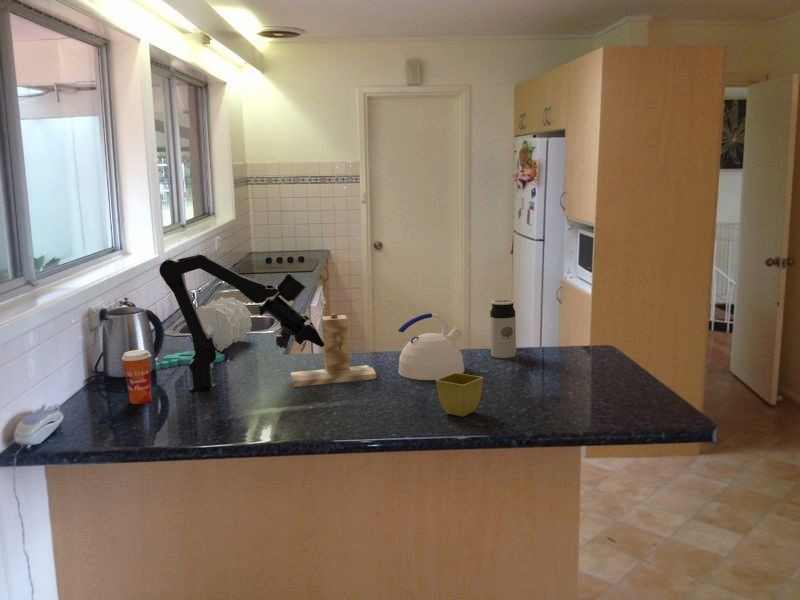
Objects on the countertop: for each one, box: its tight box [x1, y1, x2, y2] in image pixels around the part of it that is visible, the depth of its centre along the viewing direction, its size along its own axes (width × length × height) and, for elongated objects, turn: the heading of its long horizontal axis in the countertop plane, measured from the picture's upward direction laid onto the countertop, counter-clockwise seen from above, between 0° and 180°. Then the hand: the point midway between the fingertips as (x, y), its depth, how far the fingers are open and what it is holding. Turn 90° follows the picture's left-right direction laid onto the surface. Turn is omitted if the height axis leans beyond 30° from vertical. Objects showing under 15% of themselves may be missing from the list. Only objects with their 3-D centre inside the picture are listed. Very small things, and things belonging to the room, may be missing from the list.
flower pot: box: [435, 373, 484, 417], centre depth 185 cm, size 9×9×9 cm
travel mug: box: [489, 298, 517, 359], centre depth 238 cm, size 8×8×18 cm
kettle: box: [397, 312, 465, 381], centre depth 224 cm, size 20×21×18 cm
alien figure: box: [155, 349, 226, 371], centre depth 249 cm, size 20×2×20 cm
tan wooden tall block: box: [321, 313, 351, 372], centre depth 218 cm, size 7×16×18 cm, turn 11°
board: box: [290, 364, 377, 388], centre depth 221 cm, size 24×16×2 cm, turn 102°
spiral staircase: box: [190, 296, 253, 353], centre depth 269 cm, size 18×18×25 cm
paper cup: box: [121, 349, 152, 405], centre depth 206 cm, size 8×8×14 cm
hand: (323, 346), depth 222 cm, fingers closed, pressing on tan wooden tall block
